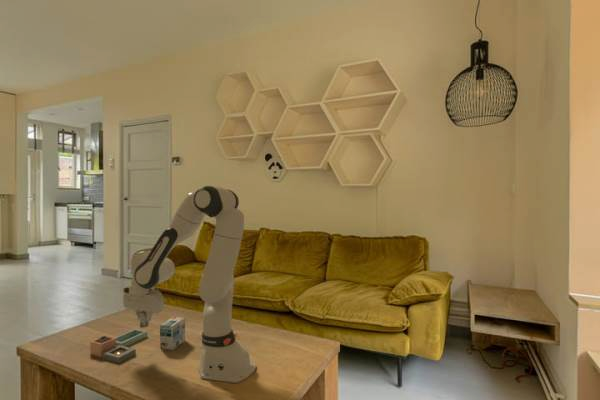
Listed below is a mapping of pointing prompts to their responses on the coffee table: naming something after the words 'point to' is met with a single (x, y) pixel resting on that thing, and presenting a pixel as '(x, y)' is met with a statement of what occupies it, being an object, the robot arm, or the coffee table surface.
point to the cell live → (143, 319)
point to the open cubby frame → (101, 346)
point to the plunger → (118, 352)
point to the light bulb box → (172, 333)
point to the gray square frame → (121, 357)
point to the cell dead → (103, 339)
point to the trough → (130, 337)
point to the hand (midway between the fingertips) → (144, 320)
